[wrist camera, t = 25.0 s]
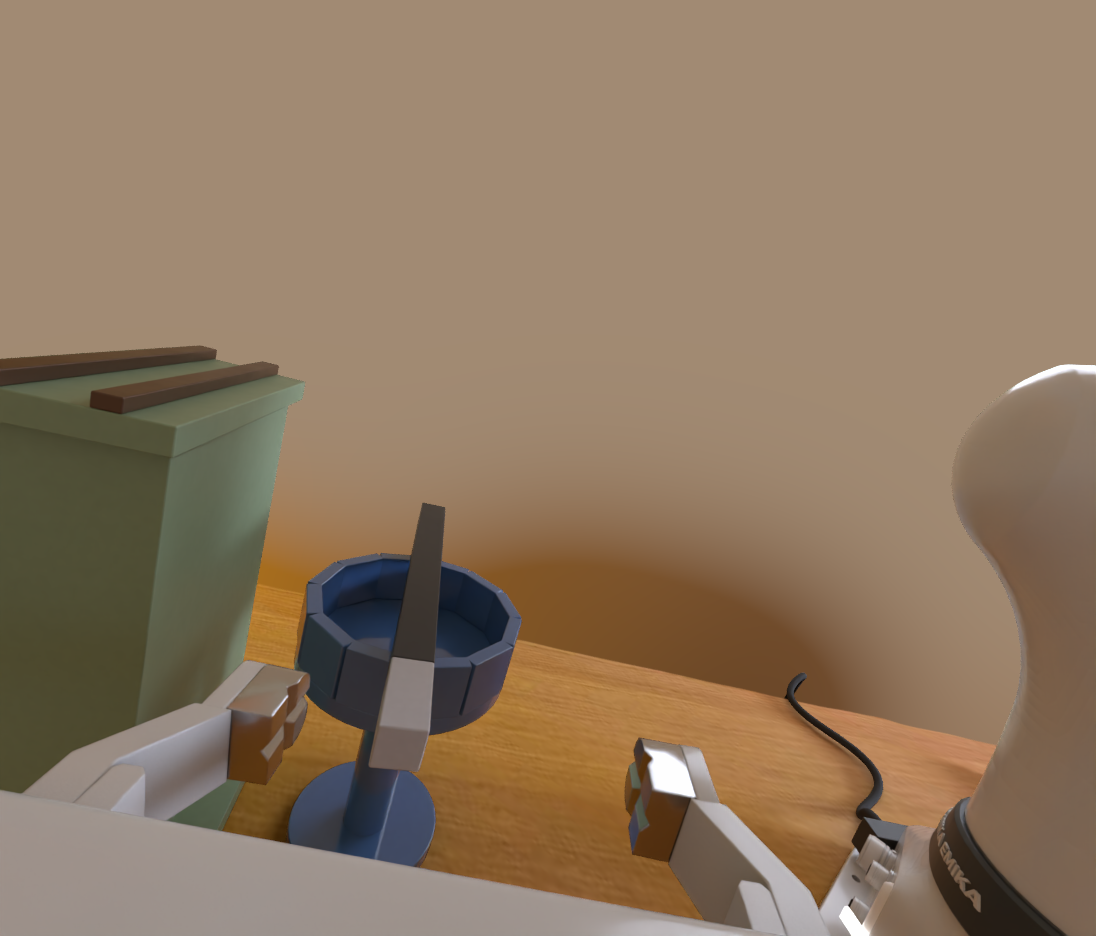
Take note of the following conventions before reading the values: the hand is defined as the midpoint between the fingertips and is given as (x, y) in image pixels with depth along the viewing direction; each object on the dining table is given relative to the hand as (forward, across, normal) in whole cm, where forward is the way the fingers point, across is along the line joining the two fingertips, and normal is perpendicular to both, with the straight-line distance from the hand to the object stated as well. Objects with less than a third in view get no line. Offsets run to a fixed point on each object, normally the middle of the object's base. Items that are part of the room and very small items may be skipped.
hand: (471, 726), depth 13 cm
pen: (+16, +5, +7) cm, 18 cm away
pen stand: (+13, +20, +22) cm, 32 cm away
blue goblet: (+16, +6, +23) cm, 29 cm away
